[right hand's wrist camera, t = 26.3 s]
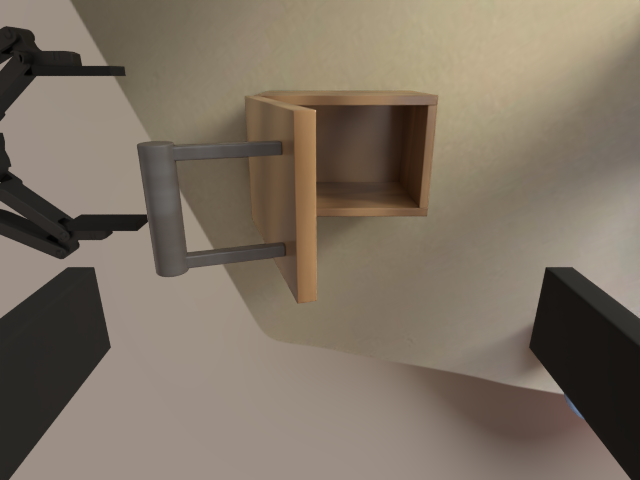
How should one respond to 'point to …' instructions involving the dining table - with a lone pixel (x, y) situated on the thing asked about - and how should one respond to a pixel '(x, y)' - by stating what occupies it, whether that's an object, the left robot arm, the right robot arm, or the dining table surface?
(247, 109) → the lid
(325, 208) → the chest
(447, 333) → the dining table surface
